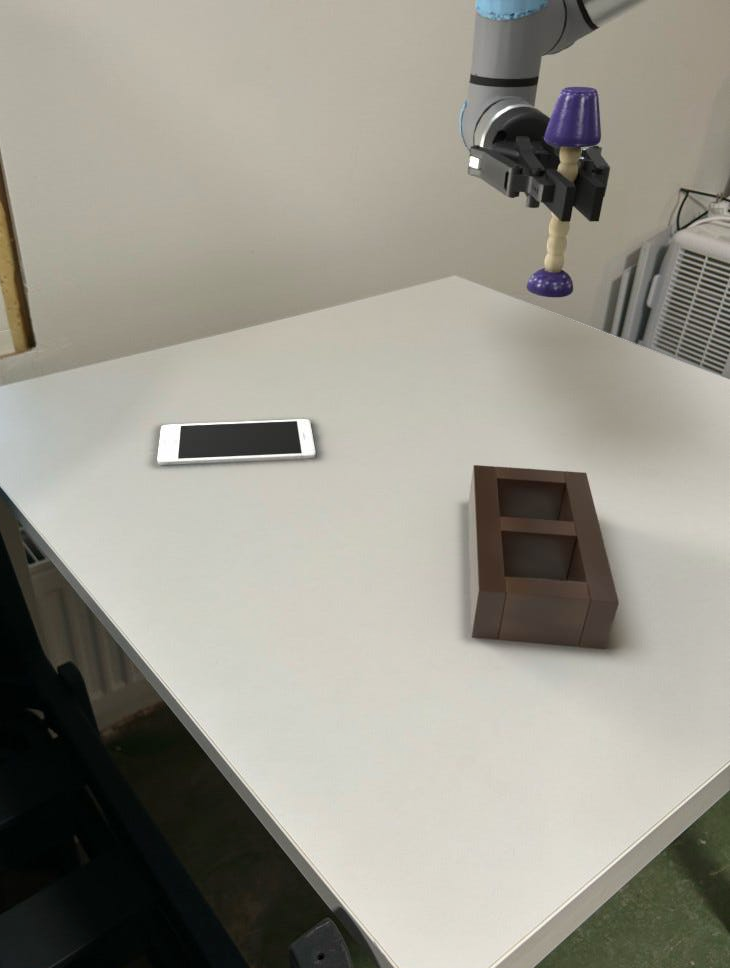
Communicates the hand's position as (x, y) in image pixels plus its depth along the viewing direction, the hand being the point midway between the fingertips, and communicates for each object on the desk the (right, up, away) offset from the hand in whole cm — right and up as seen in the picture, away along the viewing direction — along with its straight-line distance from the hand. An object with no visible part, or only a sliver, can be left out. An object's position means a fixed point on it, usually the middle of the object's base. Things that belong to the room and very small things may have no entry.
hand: (583, 204), depth 67 cm
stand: (-4, -30, +2) cm, 31 cm away
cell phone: (-30, -18, +20) cm, 40 cm away
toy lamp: (0, -4, +10) cm, 11 cm away
